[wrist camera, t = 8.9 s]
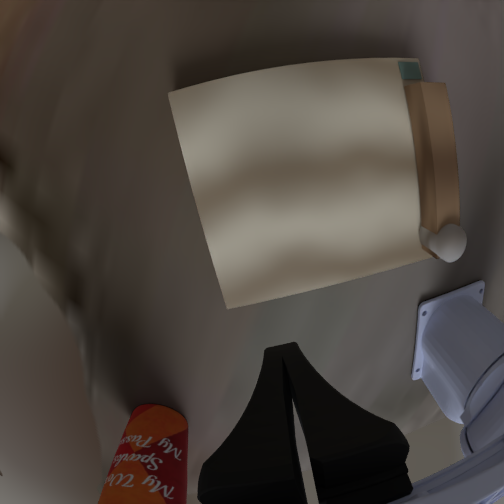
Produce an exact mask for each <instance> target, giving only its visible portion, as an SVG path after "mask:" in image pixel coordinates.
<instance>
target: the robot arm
mask: <svg viewBox="0 0 504 504" xmlns="http://www.w3.org/2000/svg"><path fill="white" fill-rule="evenodd" d="M484 288H485V282H484V281H482V280H480V281H477V282H475V283H472V284H470V285H467V286H465V287H462V288H460V289H457V290H454V291H452V292H449V293H447V294H444V295H441V296H438V297H436V298H433V299H430V300H427V301H424V302H422V303H421V304H420V305H419V308H418V321H417V333H416V343H415V352H414V360H413V368H412V375H411V378H412V379H413V380H417V379H420V378H422V380H423V382H424V383H425V385H426V386H427V388H428V389H429V391H430V392H431V394H432V395H433V397H434V399H435V400H436V402H437V403H438V405H439V406H440V408H441V410H442V411H443V413H444V414H445V415H446V416H447V417H448V418H449V419H450V420H452V421H454V422H457V423H460V424H464V425H465V426H464V427H463V429H462V431H461V434H460V443H461V449H462V453H463V455H464V459H462V460H460V461H458V462H456V463H454V464H452V465H450V466H449V467H447V468H445V469H443V470H441V471H439V472H437V473H434V474H433V475H430V476H428V477H426V478H424V479H421V480H419V481H417V482H414V483H412V484H411V481H410V479H409V477H408V474H407V473H408V468H407V466H406V463H405V461H406V458H407V455H408V452H409V444H408V441H407V439H406V438H405V436H404V435H403V433H402V432H401V431H400V429H399V428H398V427H397V426H396V425H395V424H394V423H392V422H390V421H387V420H385V419H383V418H380V417H378V416H376V415H374V414H372V413H370V412H368V411H366V410H365V409H363V408H361V407H360V406H358V405H356V404H355V403H353V402H352V401H350V400H349V399H347V398H346V397H345V396H343V395H342V394H341V393H339V392H338V391H337V390H336V389H334V388H333V387H332V386H331V385H330V384H329V383H328V382H327V381H326V380H325V379H324V378H323V377H322V376H321V375H320V374H319V373H318V372H317V371H316V370H315V369H314V367H313V366H312V365H311V364H310V363H309V361H308V360H307V359H306V357H305V356H304V355H303V353H302V352H301V350H300V348H299V346H298V344H297V343H296V342H291V343H287V344H283V345H278V346H274V347H269V348H266V349H265V350H264V359H263V364H262V368H261V372H260V375H259V378H258V381H257V384H256V387H255V389H254V392H253V394H252V397H251V399H250V401H249V403H248V405H247V407H246V409H245V411H244V413H243V415H242V416H241V418H240V420H239V421H238V423H237V425H236V426H235V428H234V429H233V431H232V432H231V433H230V435H229V436H228V437H227V438H226V440H225V441H224V442H223V443H222V445H221V446H220V447H219V448H218V449H217V450H216V451H215V452H214V453H213V454H212V455H211V456H210V457H209V458H208V459H207V460H206V461H205V462H204V463H203V465H202V469H201V472H200V476H199V481H198V496H197V498H198V500H199V501H200V502H201V503H202V504H308V503H307V498H306V493H305V488H304V483H303V478H302V472H301V467H300V462H299V456H298V451H297V446H296V438H295V426H294V415H293V403H292V399H293V402H294V405H295V408H296V411H297V414H298V417H299V420H300V424H301V427H302V430H303V433H304V436H305V440H306V443H307V448H308V453H309V457H310V462H311V467H312V472H313V477H314V481H315V486H316V491H317V496H318V501H319V504H493V503H494V502H496V501H497V500H499V499H500V498H501V497H503V496H504V324H503V323H502V322H501V321H500V320H499V319H498V318H497V317H496V316H494V315H493V314H492V313H491V312H490V311H489V310H487V309H486V308H485V307H484V306H483V305H482V301H483V294H484ZM424 311H425V312H424ZM423 312H424V313H423ZM422 313H423V314H422Z"/></svg>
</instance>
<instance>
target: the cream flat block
mask: <svg viewBox="0 0 504 504" xmlns="http://www.w3.org/2000/svg"><path fill="white" fill-rule="evenodd" d="M419 82H424V79H423V75H422V71H421V67H420V63H419V59H418V58H360V59H343V60H330V61H320V62H310V63H302V64H295V65H287V66H281V67H275V68H269V69H263V70H258V71H252V72H247V73H243V74H238V75H233V76H229V77H225V78H220V79H216V80H212V81H208V82H204V83H201V84H197V85H193V86H190V87H186V88H183V89H180V90H176V91H173V92H170V93H168V97H169V101H170V105H171V109H172V113H173V117H174V121H175V125H176V129H177V133H178V137H179V141H180V145H181V149H182V153H183V157H184V161H185V165H186V168H187V172H188V176H189V180H190V183H191V187H192V191H193V194H194V198H195V202H196V205H197V209H198V212H199V216H200V219H201V223H202V227H203V230H204V234H205V237H206V240H207V244H208V247H209V251H210V254H211V257H212V261H213V264H214V268H215V271H216V274H217V277H218V281H219V284H220V287H221V291H222V294H223V297H224V300H225V303H226V307H227V309H231V308H236V307H240V306H245V305H250V304H254V303H259V302H263V301H267V300H272V299H276V298H281V297H285V296H289V295H293V294H298V293H302V292H306V291H310V290H314V289H318V288H322V287H326V286H330V285H334V284H338V283H342V282H346V281H349V280H353V279H357V278H361V277H364V276H368V275H372V274H375V273H379V272H383V271H386V270H390V269H393V268H397V267H400V266H404V265H407V264H411V263H414V262H417V261H421V260H424V259H428V258H431V257H433V256H432V255H430V254H429V253H427V252H426V251H424V250H423V249H422V244H421V242H420V238H419V232H420V228H421V208H420V193H419V181H418V170H417V161H416V153H415V146H414V139H413V132H412V126H411V120H410V114H409V109H408V104H407V99H406V94H405V89H404V86H407V85H411V84H415V83H419Z"/></svg>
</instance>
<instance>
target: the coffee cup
mask: <svg viewBox="0 0 504 504" xmlns="http://www.w3.org/2000/svg"><path fill="white" fill-rule="evenodd" d="M187 454H188V423H187V421H186V419H185V418H184V417H183V416H182V415H181V414H180V413H179V412H177V411H175V410H173V409H171V408H169V407H166V406H163V405H158V404H143V405H140V406H138V407H136V408H135V409H134V411H133V413H132V415H131V417H130V419H129V422H128V424H127V426H126V429H125V431H124V434H123V436H122V439H121V441H120V444H119V446H118V449H117V452H116V454H115V457H114V460H113V462H112V465H111V468H110V470H109V473H108V476H107V479H106V482H105V484H104V487H103V490H102V493H101V496H100V499H99V502H98V504H186V497H187Z"/></svg>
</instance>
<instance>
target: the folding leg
mask: <svg viewBox="0 0 504 504" xmlns="http://www.w3.org/2000/svg"><path fill="white" fill-rule="evenodd" d="M404 89H405V94H406V99H407V104H408V109H409V114H410V120H411V126H412V132H413V139H414V146H415V153H416V161H417V170H418V181H419V193H420V208H421V228H420V232H419V238H420V242H421V244H422V249H423V250H424V251H426V252H427V253H429V254H430V255H432V256H433V257H435V258H436V259H439V258H441V259H443V260H444V261H446V262H454V261H456V260H457V259H459V258H460V257H461V255H462V254H463V252H464V250H465V248H466V243H467V236H466V233H465V231H464V229H463V228H461V227H460V201H459V179H458V165H457V154H456V144H455V136H454V129H453V122H452V116H451V110H450V104H449V99H448V93H447V89H446V84H445V83H435V82H419V83H415V84H411V85H407V86H404Z"/></svg>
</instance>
